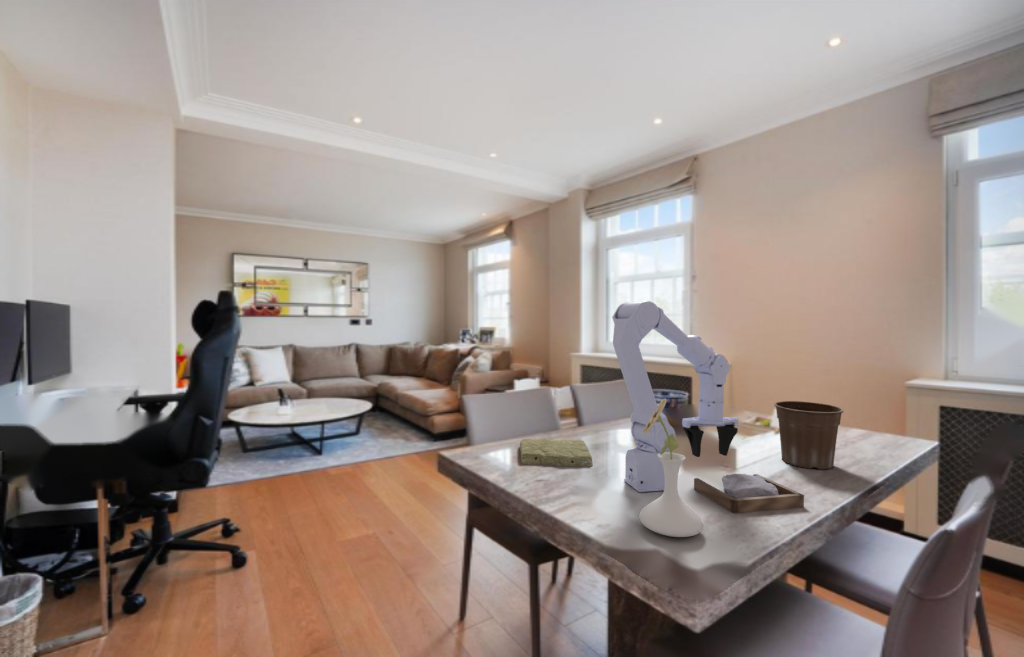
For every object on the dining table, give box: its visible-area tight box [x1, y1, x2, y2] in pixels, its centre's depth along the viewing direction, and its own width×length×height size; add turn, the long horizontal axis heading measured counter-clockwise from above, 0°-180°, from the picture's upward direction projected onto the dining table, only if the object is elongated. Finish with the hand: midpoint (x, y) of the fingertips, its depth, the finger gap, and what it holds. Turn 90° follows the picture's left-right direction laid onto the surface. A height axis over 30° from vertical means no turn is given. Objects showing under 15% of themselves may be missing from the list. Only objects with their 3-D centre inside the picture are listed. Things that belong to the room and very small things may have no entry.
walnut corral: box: [693, 473, 805, 514], centre depth 100 cm, size 17×14×2 cm
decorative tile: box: [519, 438, 593, 467], centre depth 130 cm, size 19×20×4 cm
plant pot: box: [773, 400, 845, 470], centre depth 125 cm, size 16×16×16 cm
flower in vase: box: [638, 398, 704, 538], centre depth 83 cm, size 13×11×25 cm
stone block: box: [721, 473, 779, 499], centre depth 101 cm, size 12×5×10 cm
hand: (709, 455), depth 112 cm, fingers open, 7 cm apart
